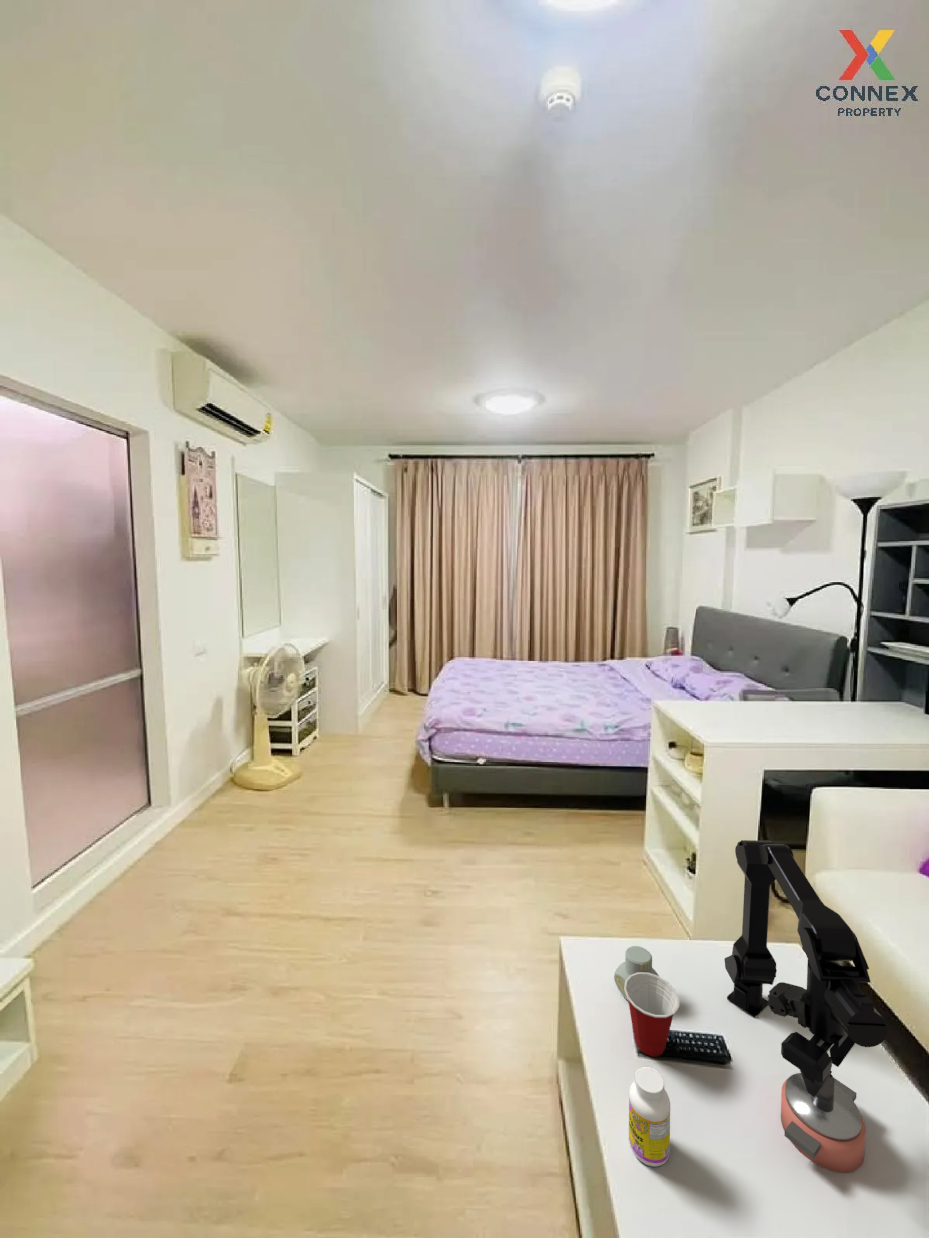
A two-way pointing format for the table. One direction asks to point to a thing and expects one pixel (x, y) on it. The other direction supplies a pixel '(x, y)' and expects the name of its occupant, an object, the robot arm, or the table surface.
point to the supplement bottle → (649, 1117)
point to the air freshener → (633, 966)
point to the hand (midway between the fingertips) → (823, 1078)
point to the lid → (824, 1109)
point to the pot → (823, 1140)
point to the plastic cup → (651, 1010)
